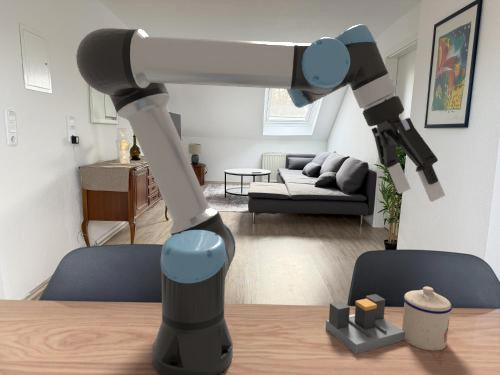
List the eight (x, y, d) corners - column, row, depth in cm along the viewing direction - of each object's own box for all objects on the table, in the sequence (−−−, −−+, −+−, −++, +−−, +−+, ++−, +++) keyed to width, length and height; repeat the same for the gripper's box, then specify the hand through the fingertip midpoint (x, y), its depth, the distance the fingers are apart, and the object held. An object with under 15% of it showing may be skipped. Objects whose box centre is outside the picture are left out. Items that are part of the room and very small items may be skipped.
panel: (355, 353, 69) (357, 323, 68) (325, 328, 78) (327, 301, 77) (404, 340, 74) (406, 311, 73) (370, 318, 83) (372, 292, 82)
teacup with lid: (455, 354, 69) (461, 299, 68) (408, 350, 70) (412, 295, 69) (432, 323, 81) (437, 276, 79) (391, 320, 82) (395, 273, 81)
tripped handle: (363, 330, 73) (365, 307, 73) (354, 323, 76) (355, 300, 76) (375, 327, 75) (376, 304, 74) (365, 320, 77) (366, 298, 77)
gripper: (427, 80, 58) (475, 192, 60) (372, 103, 83) (407, 182, 85) (387, 100, 59) (436, 211, 60) (344, 116, 83) (380, 195, 85)
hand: (419, 194), depth 73 cm, fingers open, 13 cm apart
